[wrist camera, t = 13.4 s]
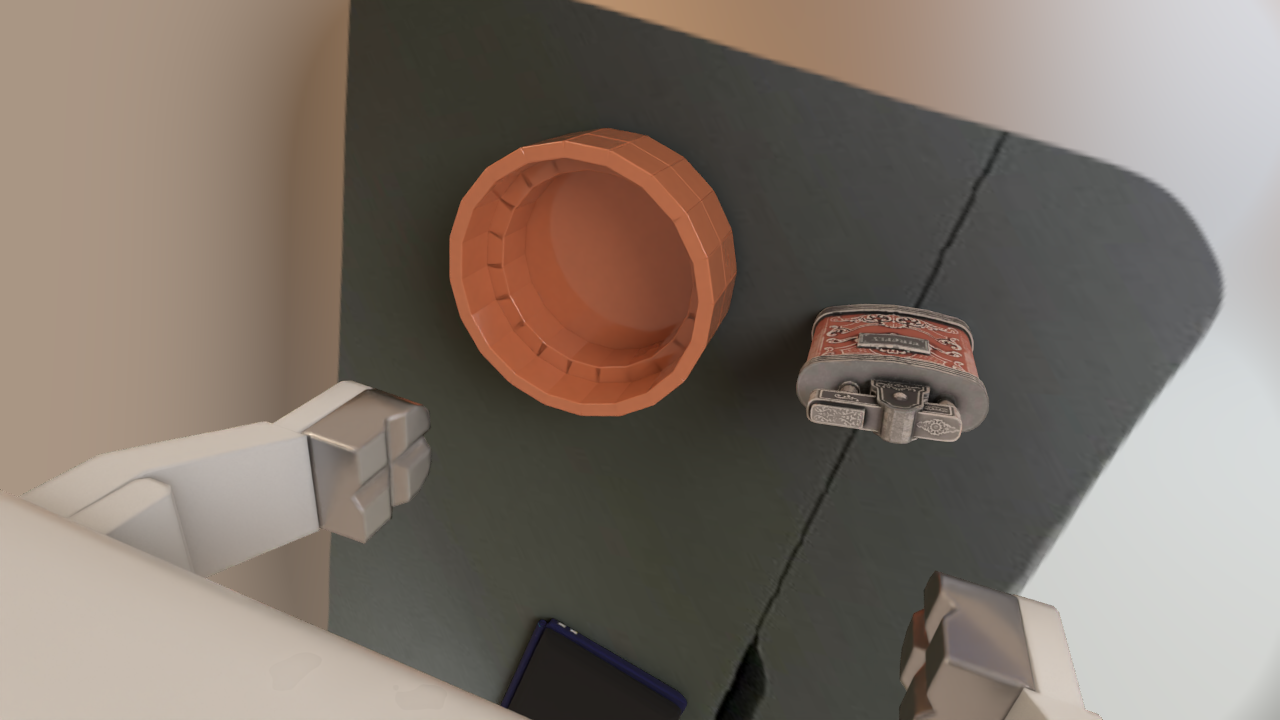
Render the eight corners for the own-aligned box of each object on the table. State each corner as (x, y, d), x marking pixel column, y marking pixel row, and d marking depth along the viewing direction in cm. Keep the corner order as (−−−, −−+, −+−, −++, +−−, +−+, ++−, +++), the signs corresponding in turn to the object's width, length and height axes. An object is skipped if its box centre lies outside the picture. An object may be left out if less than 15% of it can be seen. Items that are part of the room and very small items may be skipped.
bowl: (762, 156, 35) (739, 176, 30) (711, 398, 42) (685, 448, 36) (508, 106, 38) (448, 116, 33) (499, 337, 45) (448, 376, 40)
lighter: (978, 312, 35) (1004, 402, 26) (965, 372, 36) (987, 476, 27) (815, 297, 37) (791, 375, 28) (810, 354, 38) (785, 444, 30)
